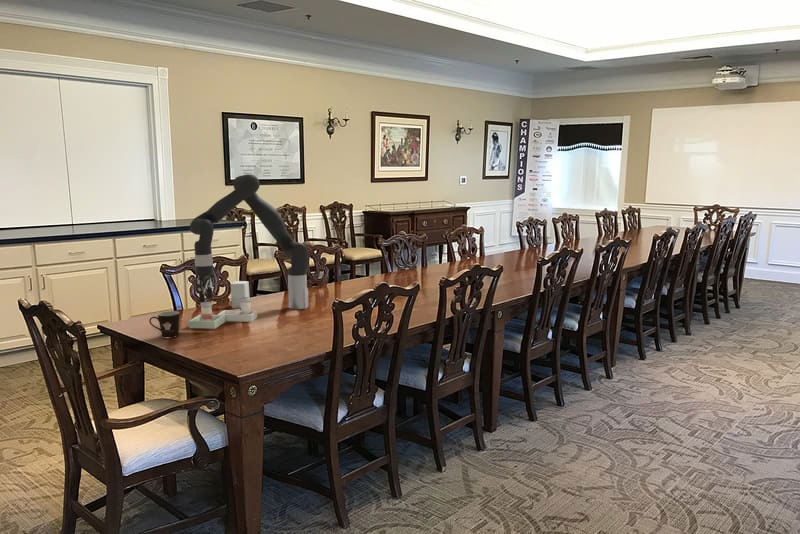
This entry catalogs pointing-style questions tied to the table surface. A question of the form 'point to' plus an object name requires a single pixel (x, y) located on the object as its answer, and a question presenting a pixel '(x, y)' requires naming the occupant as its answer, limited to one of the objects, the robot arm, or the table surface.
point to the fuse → (245, 305)
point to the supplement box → (239, 292)
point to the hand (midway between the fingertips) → (206, 300)
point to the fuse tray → (207, 322)
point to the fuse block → (238, 316)
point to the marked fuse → (206, 311)
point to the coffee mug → (168, 323)
